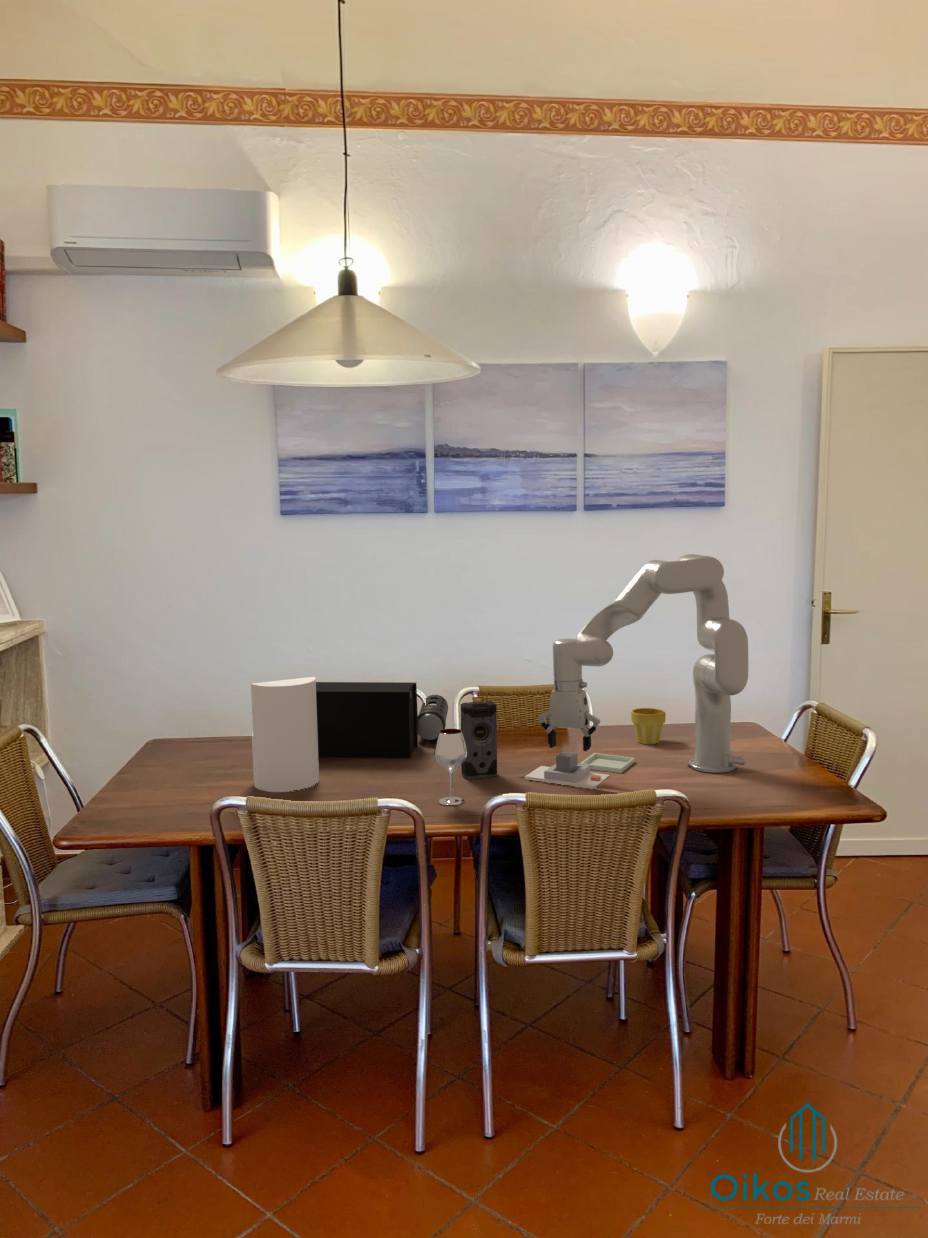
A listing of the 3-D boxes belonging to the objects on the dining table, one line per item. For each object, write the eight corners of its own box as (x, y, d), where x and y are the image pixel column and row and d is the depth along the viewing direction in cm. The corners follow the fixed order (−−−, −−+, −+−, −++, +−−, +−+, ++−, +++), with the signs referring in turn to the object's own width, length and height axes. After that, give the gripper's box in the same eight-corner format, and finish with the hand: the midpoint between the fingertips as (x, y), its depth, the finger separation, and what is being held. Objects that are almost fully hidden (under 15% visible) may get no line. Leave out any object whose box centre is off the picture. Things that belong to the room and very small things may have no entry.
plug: (577, 774, 245) (577, 752, 245) (570, 779, 241) (570, 757, 240) (563, 772, 247) (563, 751, 247) (556, 777, 243) (556, 755, 242)
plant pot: (636, 736, 289) (636, 706, 288) (668, 739, 284) (669, 708, 283) (627, 744, 280) (627, 712, 278) (660, 747, 275) (660, 715, 274)
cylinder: (328, 785, 242) (325, 681, 239) (265, 796, 234) (260, 689, 230) (306, 769, 257) (302, 671, 254) (245, 779, 249) (241, 678, 245)
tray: (634, 764, 257) (634, 757, 257) (621, 776, 247) (621, 768, 247) (594, 759, 263) (594, 753, 263) (579, 770, 253) (579, 763, 252)
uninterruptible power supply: (410, 760, 266) (408, 692, 263) (297, 758, 269) (294, 692, 267) (418, 745, 282) (416, 681, 279) (311, 744, 285) (309, 681, 283)
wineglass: (467, 796, 232) (466, 727, 229) (468, 806, 223) (467, 735, 221) (435, 797, 231) (433, 727, 229) (435, 807, 223) (433, 735, 221)
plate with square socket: (609, 778, 245) (609, 767, 244) (595, 790, 235) (595, 778, 235) (541, 769, 254) (541, 758, 254) (524, 780, 245) (524, 769, 244)
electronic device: (465, 780, 245) (464, 707, 243) (460, 773, 251) (459, 702, 248) (498, 776, 248) (498, 704, 245) (492, 770, 253) (491, 700, 251)
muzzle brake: (449, 723, 310) (448, 693, 309) (445, 744, 282) (444, 712, 281) (421, 723, 310) (420, 693, 309) (414, 745, 283) (413, 712, 281)
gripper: (603, 684, 241) (605, 747, 243) (543, 681, 249) (545, 742, 251) (594, 690, 234) (595, 755, 236) (532, 686, 242) (534, 749, 245)
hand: (569, 748), depth 244 cm, fingers open, 9 cm apart
